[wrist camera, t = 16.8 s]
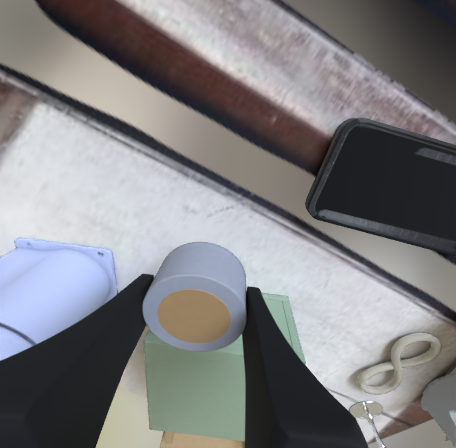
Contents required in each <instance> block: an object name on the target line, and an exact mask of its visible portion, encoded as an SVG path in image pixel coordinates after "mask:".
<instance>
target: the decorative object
mask: <svg viewBox="0 0 456 448" xmlns="http://www.w3.org/2000/svg"><path fill="white" fill-rule="evenodd" d="M418 341H427V342H430V343H431V347H430V349H429V350H428V351H427V352H425V353H424V354H421V355H419V356H416V357H413V358H410V359H404V360H400V354H401V352H402V350H403V349H404V348H405V347H406V346H407V345H409V344H411V343H414V342H418ZM440 351H441V344H440V342H439V340H438V339H437V338H436V337H434V336H433V335H430V334H427V333H412V334H409V335H406V336H404V337H402V338H400V339H399V340H398V341H397V342H396V343H395V344H394V346H393V347H392V350H391V361H392V362H390V361H389V362H386V363H381V364H377V365H375V366H372V367H370V368H368V369H366V370H365V371H363V372H362V373H361V374H360V375H359V377H358V380H357V382H358V385H359V387H360V388H361V389H362V390H363V391H364V392H366V393H369V394H374V395H380V394H386V393H389V392H391V391H393V390H394V389H396V388H397V387H398V386H399V385H400V383H401V381H402V378H403V371H402V368H405V367H412V366H417V365H421V364H424V363H427V362H429V361H431V360H433V359H434V358H436V357H437V356H438V354H439V353H440ZM393 369H394V376H393V378H392V380H391V381H390V382H388V383H387V384H385V385H382V386H378V387H371V386H367V385H366V384H365V382H366V381H367V380H368V379H369V378H370V377H372V376H374V375H376V374H379V373H382V372H385V371H388V370H393Z"/></svg>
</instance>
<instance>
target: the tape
mask: <svg viewBox="0 0 456 448" xmlns="http://www.w3.org/2000/svg"><path fill="white" fill-rule="evenodd" d="M142 311H143V317H144V320H145V322H146V324H147V326H148V327H149V329H150V330H151V331H152V332H153V333H154V334H155V335H156V336H157V337H158V338H160V339H161V340H162V341H164V342H166V343H168V344H169V345H172V346H174V347H177V348H180V349H183V350H188V351H197V352H205V351H213V350H217V349H221V348H223V347H226V346H228V345H230V344H231V343H233V342H234V341H236V340H237V339H238V338H239V337H240V335H241V334H242V333H243V331H244V329H245V326H246V323H247V298H246V275H245V270H244V268H243V266H242V264H241V262H240V261H239V260H238V258H237V257H236V256H235V255H234V254H233V253H231V252H230V251H229V250H227V249H225V248H224V247H221V246H219V245H216V244H213V243H208V242H192V243H187V244H184V245H182V246H179V247H177V248H176V249H174V250H173V251H172V252H170V253H169V254H168V256H167V257H166V258H165V260H164V262H163V263H162V265H161V267H160V269H159V271H158V273H157V275H156V276H155V278H154V280H153V282H152V284H151V286H150V288H149V289H148V291H147V293H146V295H145V297H144V300H143V305H142Z"/></svg>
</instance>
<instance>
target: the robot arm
mask: <svg viewBox="0 0 456 448" xmlns="http://www.w3.org/2000/svg"><path fill="white" fill-rule="evenodd" d="M14 243H15V246H16V249H14V250H12V251H10V252H9V253H7V254H5V255H4V256H2V257H0V448H95V447H96V444H97V441H98V439H99V435H100V433H101V430H102V427H103V425H104V422H105V419H106V416H107V413H108V410H109V408H110V405H111V402H112V400H113V397H114V395H115V392H116V389H117V387H118V385H119V382H120V379H121V377H122V374H123V372H124V369H125V367H126V365H127V363H128V361H129V359H130V357H131V355H132V353H133V351H134V349H135V347H136V345H137V343H138V341H139V339H140V337H141V335H142V333H143V331H144V329H145V327H146V325H147V324H146V322H145V320H144V317H143V311H142V305H143V300H144V297H145V295H146V293H147V291H148V289H149V288H150V286H151V284H152V282H153V280H154V275H149V274H142V275H140V276H139V277H138V278H137V279H135V280H134V281H133V282H132V283H131V284H129V285H128V286H127V287H126V288H125V289H123V290H122V291H121V292H119V293H117V285H116V277H115V269H114V261H113V254H112V252H111V250H109V249H104V248H97V247H89V246H81V245H74V244H66V243H58V242H51V241H43V240H35V239H28V238H17V239H16V240H15V241H14ZM100 252H101V253H103V254H101V253H100ZM246 298H247V323H246V326H245V329H244V331H243V333H242V341H243V354H244V367H245V448H368V445H367V442H366V440H365V438H364V435H363V433H362V431H361V429H360V427H359V425H358V423H357V421H356V419H355V417H354V416H353V415H352V414H351V413H350V412H349V411H348V410H347V409H346V408H345V407H344V406H343V405H341V404H340V403H339V402H338V401H337V400H336V399H335V398H334V397H333V396H332V395H331V394H330V393H329V392H328V391H327V390H326V388H325V387H324V386H323V385H322V384H321V383H320V382H319V381H318V380H317V378H316V377H315V376H314V375H313V374H312V373H311V371H310V370H309V369H308V368H307V367H306V366H305V364H304V363H303V362H302V361H301V359H300V358H299V357H298V355H297V354H296V353H295V351H294V350H293V348H292V347H291V346H290V344H289V343H288V341H287V340H286V338H285V337H284V335H283V334H282V332H281V330H280V329H279V327H278V325H277V324H276V322H275V320H274V318H273V316H272V314H271V313H270V311H269V309H268V307H267V305H266V303H265V300H264V298H263V296H262V293H261V291H260V289H259V288H255V287H247V292H246Z"/></svg>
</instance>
